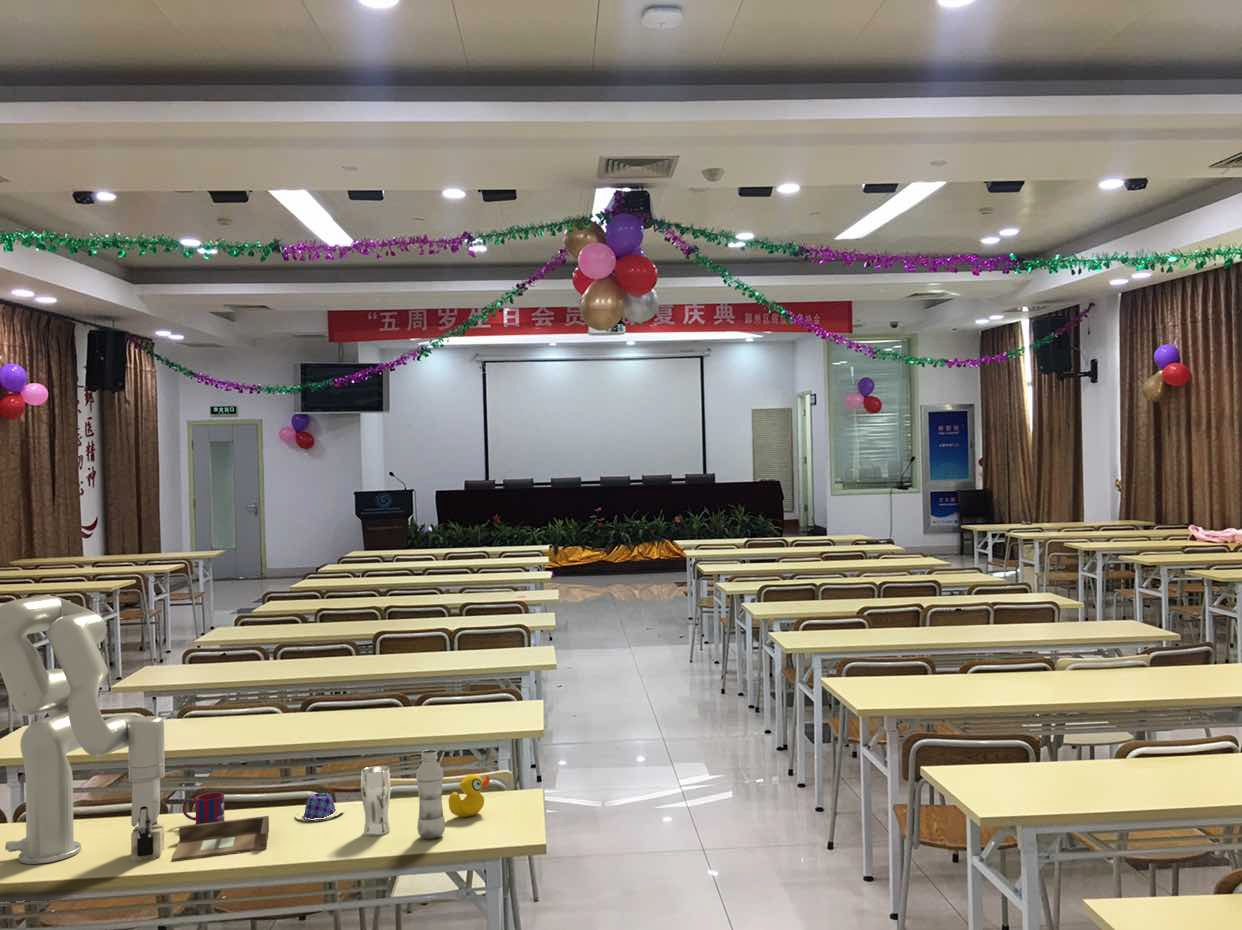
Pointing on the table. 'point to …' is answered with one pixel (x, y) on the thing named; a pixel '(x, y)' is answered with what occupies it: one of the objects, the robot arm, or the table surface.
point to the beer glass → (376, 799)
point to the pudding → (319, 806)
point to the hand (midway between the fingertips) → (148, 849)
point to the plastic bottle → (430, 796)
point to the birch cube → (157, 842)
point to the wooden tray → (222, 838)
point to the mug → (207, 808)
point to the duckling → (469, 796)
